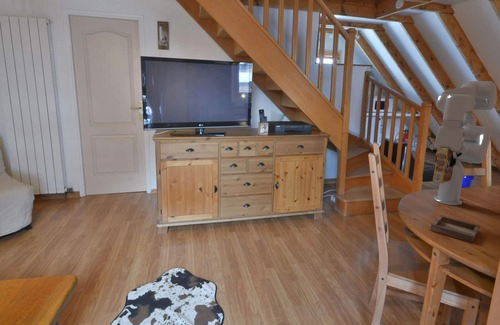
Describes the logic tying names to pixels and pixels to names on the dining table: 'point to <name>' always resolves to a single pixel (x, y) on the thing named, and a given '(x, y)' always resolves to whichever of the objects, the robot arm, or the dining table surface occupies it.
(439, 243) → the dining table surface
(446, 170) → the candy box
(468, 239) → the tray
